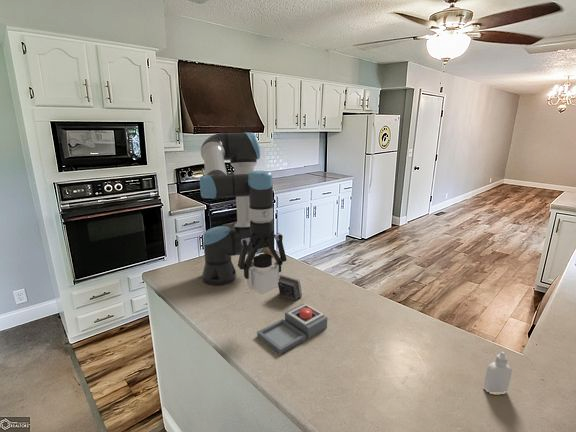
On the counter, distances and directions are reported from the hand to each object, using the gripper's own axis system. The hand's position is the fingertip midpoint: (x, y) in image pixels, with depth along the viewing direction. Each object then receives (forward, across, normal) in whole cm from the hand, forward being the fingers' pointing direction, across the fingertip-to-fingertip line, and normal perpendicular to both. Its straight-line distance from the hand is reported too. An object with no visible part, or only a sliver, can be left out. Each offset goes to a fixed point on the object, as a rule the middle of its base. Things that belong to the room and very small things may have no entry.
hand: (263, 283), depth 110 cm
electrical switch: (+16, +16, +14) cm, 26 cm away
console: (+16, +7, -8) cm, 19 cm away
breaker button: (+13, +13, -6) cm, 20 cm away
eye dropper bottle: (+17, +46, -53) cm, 72 cm away
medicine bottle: (+2, 0, 0) cm, 2 cm away
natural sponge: (+16, +20, +50) cm, 56 cm away
